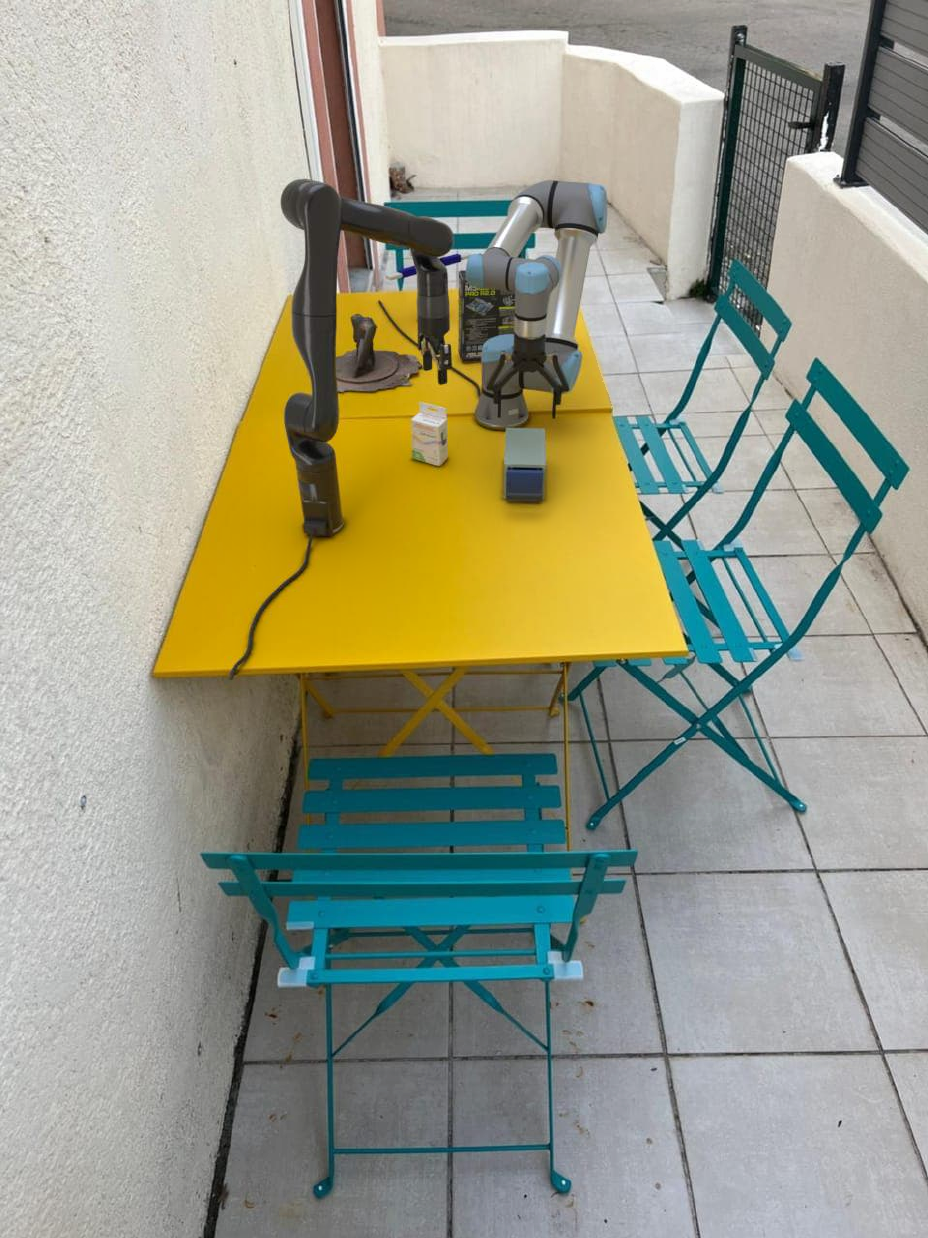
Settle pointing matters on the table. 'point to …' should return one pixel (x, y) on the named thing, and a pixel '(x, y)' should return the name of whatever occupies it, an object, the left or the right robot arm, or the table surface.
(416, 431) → the ink box
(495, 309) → the box
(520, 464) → the cabinet
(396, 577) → the table surface
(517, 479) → the drawer
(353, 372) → the sculpture
